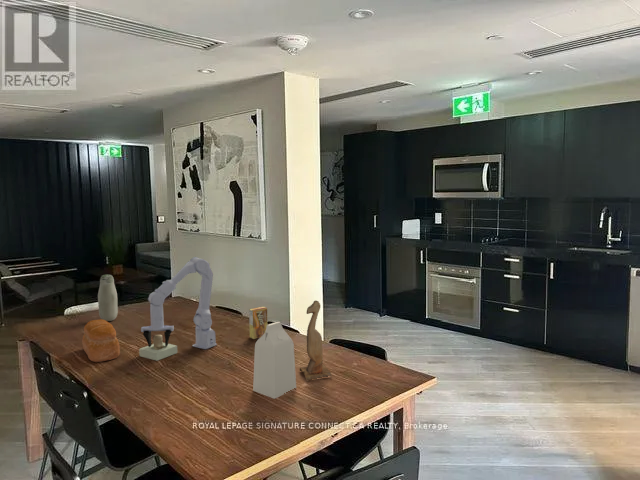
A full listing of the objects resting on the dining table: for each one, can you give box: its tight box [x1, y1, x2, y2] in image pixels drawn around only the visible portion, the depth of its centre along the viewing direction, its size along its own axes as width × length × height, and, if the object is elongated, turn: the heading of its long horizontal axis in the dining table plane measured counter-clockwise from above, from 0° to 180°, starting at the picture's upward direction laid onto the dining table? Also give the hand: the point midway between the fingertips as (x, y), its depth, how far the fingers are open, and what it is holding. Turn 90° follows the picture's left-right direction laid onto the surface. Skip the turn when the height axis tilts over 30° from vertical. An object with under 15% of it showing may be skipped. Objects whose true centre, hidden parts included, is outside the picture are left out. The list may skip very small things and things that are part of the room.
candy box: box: [248, 306, 268, 340], centre depth 245 cm, size 9×4×15 cm, turn 129°
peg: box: [152, 334, 164, 350], centre depth 219 cm, size 4×4×9 cm
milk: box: [252, 321, 297, 399], centre depth 178 cm, size 12×12×26 cm
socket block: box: [138, 342, 178, 362], centre depth 219 cm, size 12×12×4 cm
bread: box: [81, 318, 121, 363], centre depth 221 cm, size 14×26×15 cm, turn 35°
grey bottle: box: [97, 274, 119, 322], centre depth 277 cm, size 10×10×28 cm
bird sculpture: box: [299, 300, 332, 381], centre depth 191 cm, size 11×12×32 cm
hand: (158, 345), depth 219 cm, fingers open, 7 cm apart
